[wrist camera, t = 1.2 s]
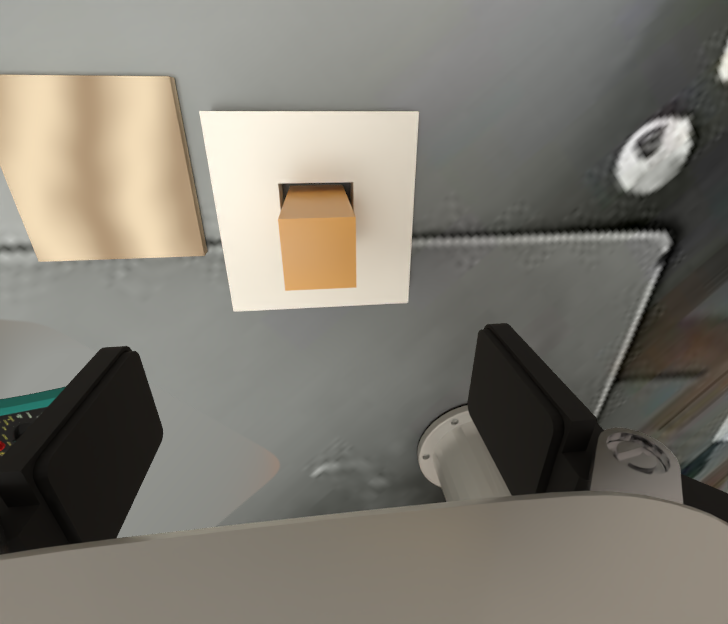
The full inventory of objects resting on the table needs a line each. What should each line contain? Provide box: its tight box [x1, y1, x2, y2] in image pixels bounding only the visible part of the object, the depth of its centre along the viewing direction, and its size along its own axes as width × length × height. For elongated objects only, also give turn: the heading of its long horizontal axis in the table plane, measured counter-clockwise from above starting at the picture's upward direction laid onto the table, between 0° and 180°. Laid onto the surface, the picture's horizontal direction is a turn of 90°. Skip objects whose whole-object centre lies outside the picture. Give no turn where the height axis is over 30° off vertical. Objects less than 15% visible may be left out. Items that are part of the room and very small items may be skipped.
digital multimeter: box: [0, 387, 65, 458], centre depth 36 cm, size 7×15×3 cm, turn 99°
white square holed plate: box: [199, 111, 419, 311], centre depth 29 cm, size 14×14×3 cm
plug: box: [278, 185, 356, 291], centre depth 26 cm, size 4×4×11 cm
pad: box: [0, 75, 208, 262], centre depth 27 cm, size 12×12×1 cm
